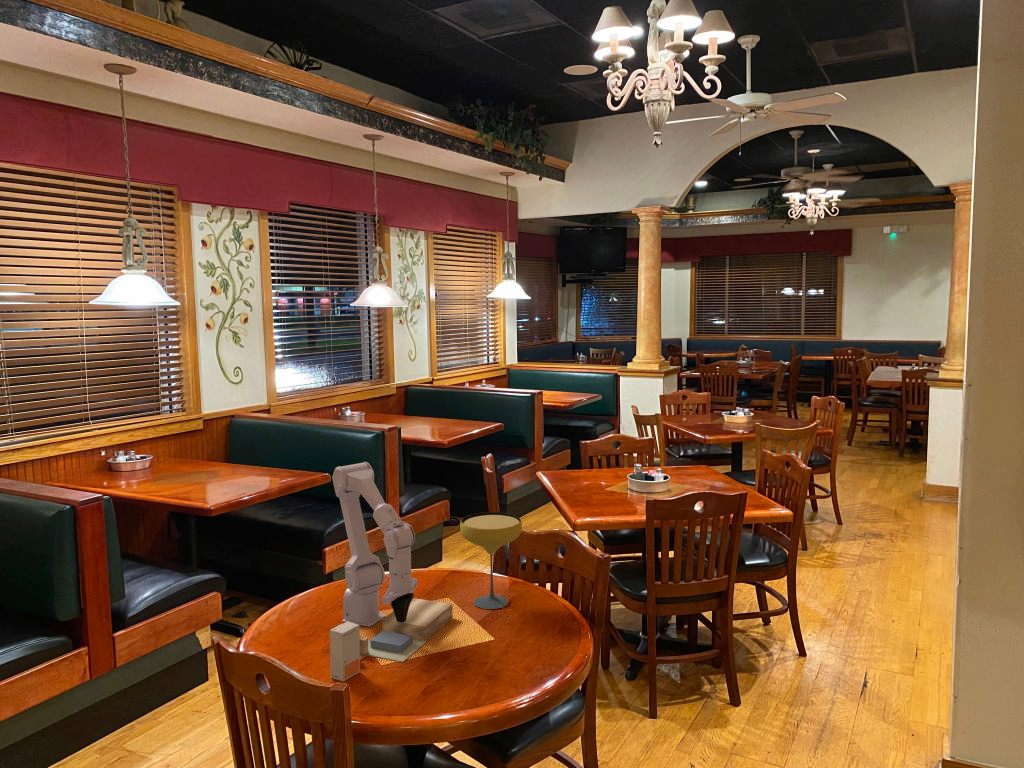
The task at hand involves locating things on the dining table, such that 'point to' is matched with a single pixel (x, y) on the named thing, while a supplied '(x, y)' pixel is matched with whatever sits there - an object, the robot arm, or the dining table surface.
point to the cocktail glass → (491, 543)
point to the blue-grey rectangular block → (391, 642)
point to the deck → (420, 619)
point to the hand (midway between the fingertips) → (401, 621)
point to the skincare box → (345, 651)
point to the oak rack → (363, 647)
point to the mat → (393, 655)
